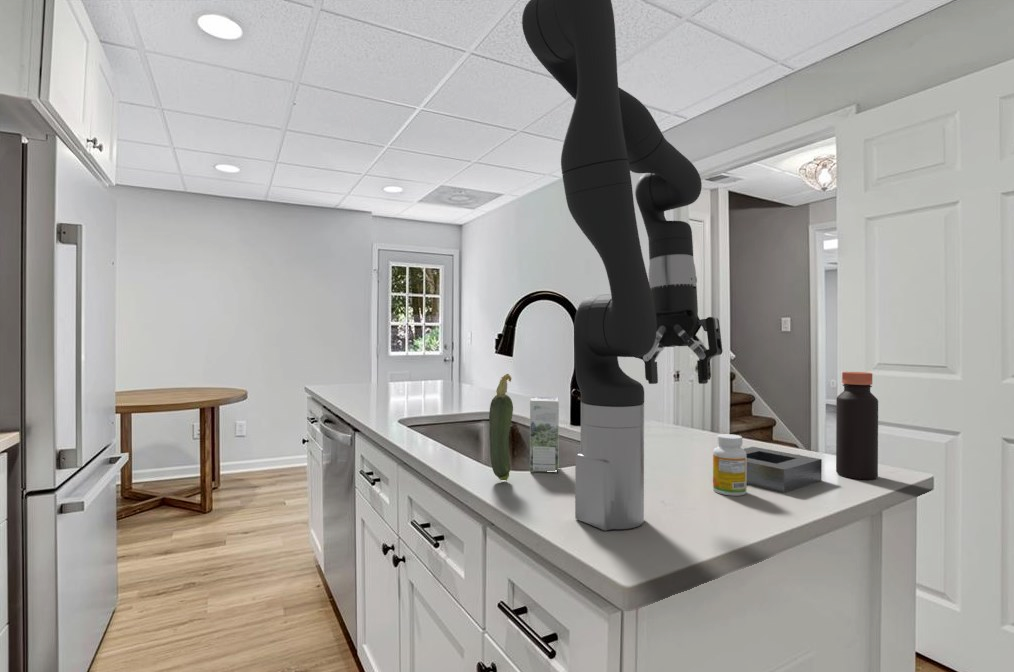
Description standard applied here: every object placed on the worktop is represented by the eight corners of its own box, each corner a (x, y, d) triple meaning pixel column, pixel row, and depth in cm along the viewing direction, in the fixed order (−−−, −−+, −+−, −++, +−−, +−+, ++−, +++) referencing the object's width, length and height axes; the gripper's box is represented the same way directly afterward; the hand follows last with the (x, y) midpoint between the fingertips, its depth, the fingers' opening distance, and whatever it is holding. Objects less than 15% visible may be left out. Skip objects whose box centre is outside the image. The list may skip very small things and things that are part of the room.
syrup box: (558, 466, 110) (558, 396, 110) (558, 474, 104) (558, 399, 104) (531, 465, 111) (531, 395, 111) (529, 473, 105) (529, 399, 105)
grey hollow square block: (784, 492, 92) (784, 469, 92) (714, 475, 103) (714, 455, 103) (821, 480, 100) (821, 459, 100) (752, 465, 111) (753, 446, 111)
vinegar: (883, 481, 99) (883, 374, 99) (841, 478, 101) (841, 373, 101) (871, 472, 106) (871, 372, 106) (832, 470, 108) (832, 371, 108)
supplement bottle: (717, 485, 97) (717, 432, 97) (749, 490, 93) (749, 435, 93) (709, 492, 92) (709, 436, 92) (742, 498, 89) (742, 440, 89)
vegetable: (485, 483, 98) (485, 374, 98) (494, 477, 102) (494, 372, 102) (508, 485, 96) (508, 374, 96) (516, 479, 100) (516, 373, 100)
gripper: (622, 288, 90) (627, 385, 89) (706, 277, 81) (712, 384, 80) (643, 292, 96) (648, 383, 95) (724, 282, 87) (729, 382, 86)
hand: (677, 383), depth 88 cm, fingers open, 8 cm apart
